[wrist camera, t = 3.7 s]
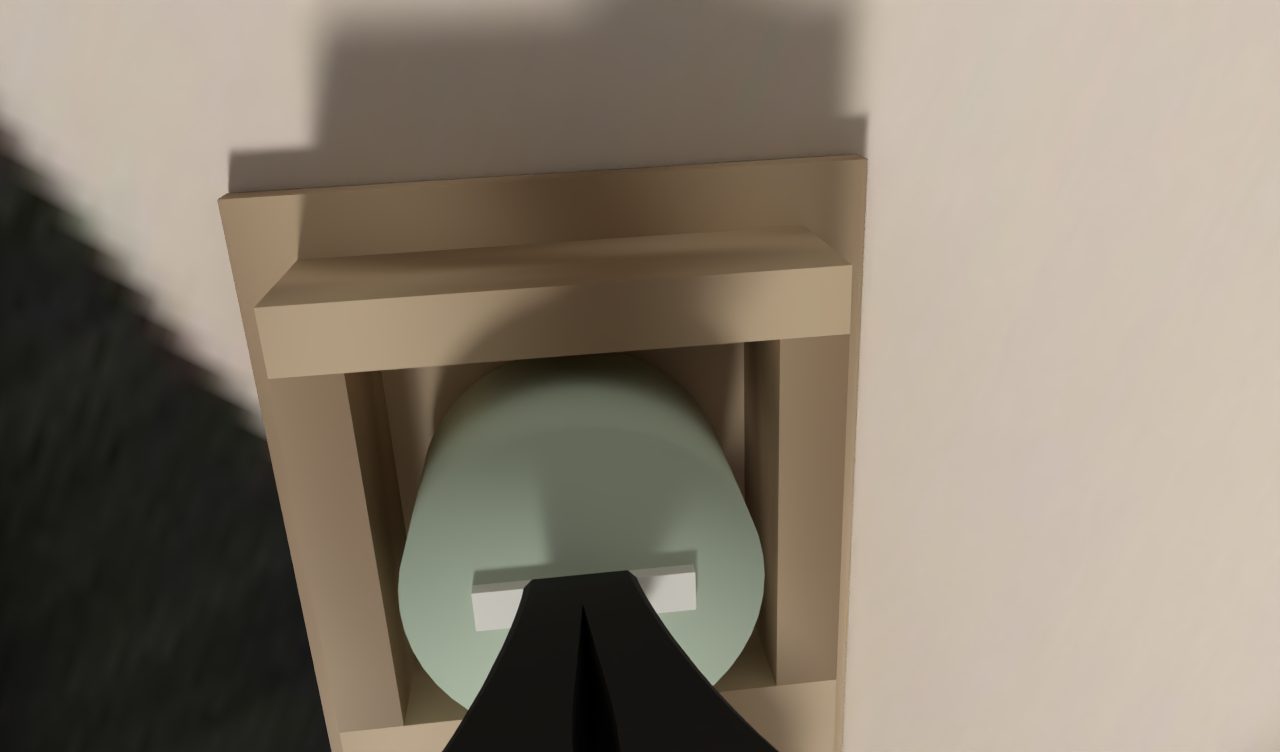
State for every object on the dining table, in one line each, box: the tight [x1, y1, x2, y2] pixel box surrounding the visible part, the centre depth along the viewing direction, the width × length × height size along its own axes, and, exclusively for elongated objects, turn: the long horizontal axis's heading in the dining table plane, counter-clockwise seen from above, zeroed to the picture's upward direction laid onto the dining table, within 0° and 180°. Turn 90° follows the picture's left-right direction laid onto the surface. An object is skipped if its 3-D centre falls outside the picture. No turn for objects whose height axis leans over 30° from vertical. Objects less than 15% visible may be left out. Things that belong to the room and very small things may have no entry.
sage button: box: [398, 352, 765, 710], centre depth 14 cm, size 5×5×3 cm
